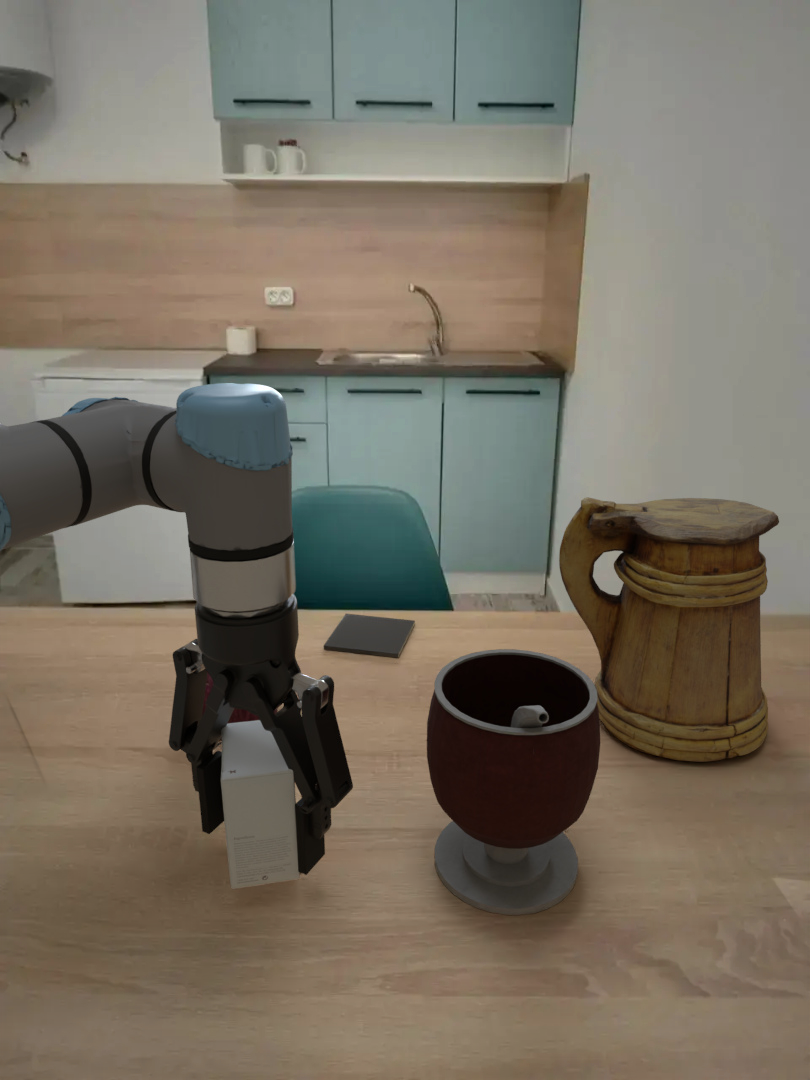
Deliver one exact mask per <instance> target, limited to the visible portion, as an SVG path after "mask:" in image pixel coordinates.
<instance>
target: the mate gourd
mask: <svg viewBox="0 0 810 1080" xmlns="http://www.w3.org/2000/svg"><path fill="white" fill-rule="evenodd" d="M433 684H434V689H433V692H432V696H431V699H430V704H429V710H428V715H427V719H426V720H427V721H426V759H427V765H428V770H429V779H430V782H431V785H432V790H433V792H434V795H435V796H434V797H435V798H436V801H437V803H438V805H439V806H440V808H441V809H442V811H443V812H444V813H445V814H446V815H447V816H448V817H449V818H450V819H451V820H452V821H450V822H449V823H448V824H447V825H446V826H445V827H444V828H442V830H441V832H440V833H439V835H438V837H437V839H436V842H435V847H434V866H435V869H436V872H437V875H438V877H439V879H440V880H441V882H442V884H443V885H444V886H445V888H447V890H448V891H449V892H451V894H452V895H453V896H455V897H456V898H457V899H460V900H461V901H462V902H464V903H466V904H467V905H470V906H471V907H474V908H476V909H478V910H482V911H485V912H488V913H492V914H499V915H505V916H522V915H523V916H524V915H529V914H537V913H539V912H542V911H545V910H549V909H550V908H552V907H554V906H555V905H556V906H557V905H558V904H559V903H561V902H562V901H563V900H564V899H565V898H567V896H569V894H570V893H571V891H572V890H573V889H574V887H575V884H576V882H577V878H578V872H579V859H578V855H577V850H576V848H575V847H574V845H573V843H572V841H571V840H570V839H569V837H568V836H567V835H566V834H565V831H566V830H568V829H569V828H570V827H572V825H574V824H575V823H577V821H578V820H579V818H580V817H581V816H582V815H583V813H584V811H585V809H586V807H587V804H588V802H589V799H590V797H591V793H592V791H593V787H594V783H595V781H596V776H597V773H598V770H599V759H600V753H601V752H600V750H601V725H600V723H601V722H600V719H599V710H598V704H597V690H596V688H595V682H593V681H592V679H591V678H590V677H589V676H588V674H586V673H585V672H584V671H583V670H582V669H580V668H578V667H577V666H575V665H574V664H572V663H570V662H568V661H565V660H563V659H561V658H558V657H556V656H553V655H551V654H546V653H544V652H539V651H538V652H537V651H533V650H526V649H525V650H524V649H515V648H512V649H511V648H498V649H485V650H481V651H477V652H476V651H475V652H471V653H468V654H465V655H462V656H459V657H457V658H455V659H453V660H451V661H449V662H448V663H447V664H445V665H444V666H443V667H442V668H441V669H440V670H439V672H438V673H437V674H436V677H435V680H434V683H433Z"/></svg>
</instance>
